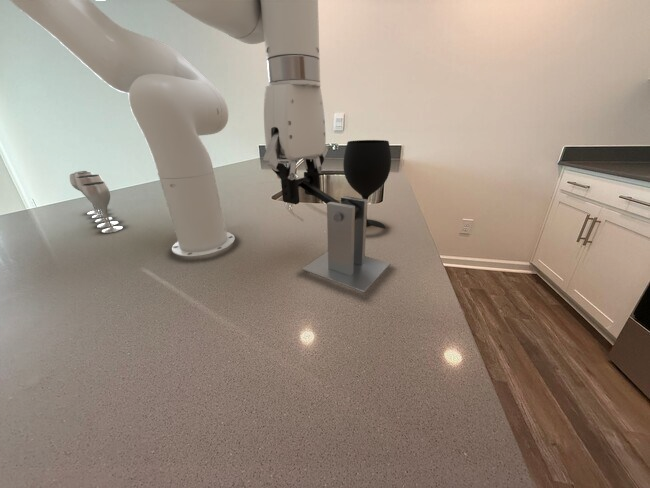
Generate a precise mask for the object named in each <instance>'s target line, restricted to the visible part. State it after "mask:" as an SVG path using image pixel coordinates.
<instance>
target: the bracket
mask: <svg viewBox="0 0 650 488" xmlns="http://www.w3.org/2000/svg"><path fill="white" fill-rule="evenodd" d="M346 200H347V201H349V202H350V203H352V204H354V205H355V206H357V207H358V208H360V211H359V213H358V216H357V218H356V220H355V206H352V205H346V204H341V202H343V201H346ZM326 220H327V222H326V223H327V227H326V228H327V251H326V252H325V253H323V254H322V255H320V256H319V257H317V258H315V259H314V260H312V261H311V262H310V263H308V264H307V265H305V266H304V267H302V268H301V270H302V271H305V272H307V273H310V274H313V275H315V276H318V277H321V278H323V279H326V280H329V281H331V282H334V283H337V284H340V285H342V286H345V287H348V288H350V289H353V290H356V291H359V292H361V293H365V292H366V291H367V290H368V289H369V288H370V287H371V286H372V285H373V284H374V283H375V281H377V279H378V278H379V277H380V276H381V275H382V274H383V273H384V272H385V271H386V270H387V269H388V267H389V266H391V263H390V262H388V261H383V260H380V259H378V258H373V257H369V256H367V255H366V241H367V240H366V239H367V238H366V237H367V227H366V220H368V203H367V199H362V197H361V198H360V197H355V196H354V197H353V196H348V195H347V196H346V195H343V196H341V197H340V203H335V202H329V203H327V204H326Z"/></svg>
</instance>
